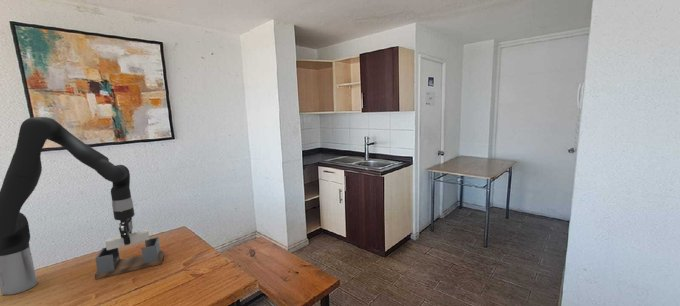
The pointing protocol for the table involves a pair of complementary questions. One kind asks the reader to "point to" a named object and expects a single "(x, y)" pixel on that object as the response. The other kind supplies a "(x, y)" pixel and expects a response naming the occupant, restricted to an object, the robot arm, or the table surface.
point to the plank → (130, 265)
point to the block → (134, 238)
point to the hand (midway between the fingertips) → (128, 241)
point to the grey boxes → (111, 258)
